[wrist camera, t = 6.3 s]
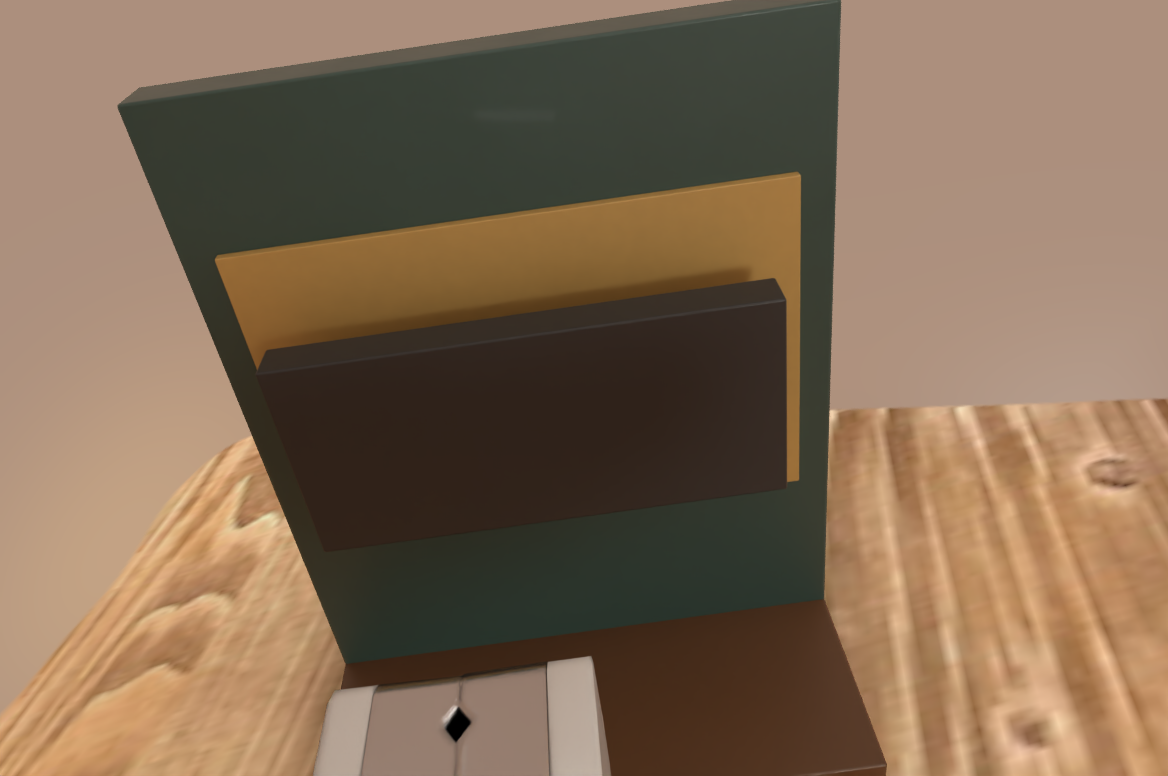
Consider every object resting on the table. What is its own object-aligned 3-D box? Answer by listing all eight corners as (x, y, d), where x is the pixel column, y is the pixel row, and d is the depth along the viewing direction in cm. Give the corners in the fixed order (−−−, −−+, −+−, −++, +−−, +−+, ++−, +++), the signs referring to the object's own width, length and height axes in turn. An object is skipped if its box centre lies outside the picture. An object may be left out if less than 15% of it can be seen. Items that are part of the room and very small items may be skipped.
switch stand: (885, 789, 27) (955, 72, 16) (322, 863, 27) (-22, 214, 16) (785, 519, 37) (783, -40, 26) (373, 575, 37) (186, 48, 26)
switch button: (787, 489, 25) (787, 298, 22) (324, 553, 25) (254, 374, 22) (777, 462, 26) (775, 276, 23) (331, 524, 26) (265, 348, 23)
